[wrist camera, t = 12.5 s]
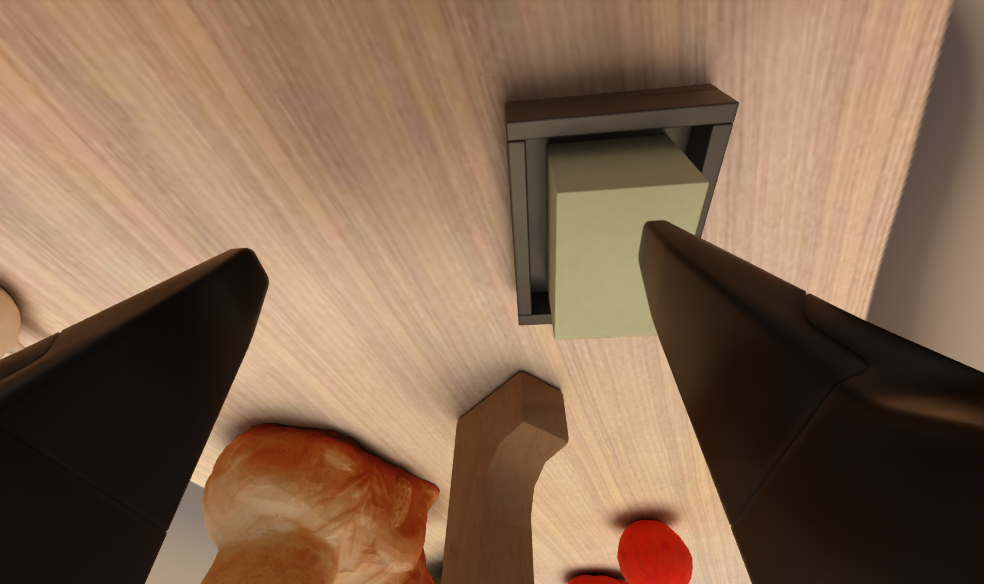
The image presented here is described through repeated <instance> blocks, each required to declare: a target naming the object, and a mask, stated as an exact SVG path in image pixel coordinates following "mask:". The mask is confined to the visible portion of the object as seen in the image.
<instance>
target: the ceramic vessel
mask: <svg viewBox="0 0 984 584" xmlns="http://www.w3.org/2000/svg"><path fill="white" fill-rule="evenodd" d="M439 492H440V490H439V488H438V487H437V486H436V485H435V484H432V483H430V482H427V481H425V480H422V479H420V478H418V477H416V476H414V475H412V474H410V473H408V472H407V471H405V470H404V469H402V468H400V467H398V466H396V465H394V464H392V463H390V462H388V461H386V460H384V459H382V458H381V457H379V456H378V455H376V454H374V453H373V452H371V451H369V450H368V449H366V448H365V447H363V446H361V445H360V444H359V443H358V442H357V441H356V440H355V439H354V438H351V437H348V436H345V435H342V434H340V433H338V432H336V431H334V430H323V429H315V428H307V427H295V426H286V425H279V424H274V423H263V424H260V425H256V426H251V427H250V428H249V429H248V431H247V432H245V433H243V434H241V435H240V436H239V437H237V438H236V439H235V440H234V441H233V442H231V443H230V444H229V445H227V446H226V447H225V449H224V451H223V452H222V453H221V454H220V456H219V457H218V459H217V461H216V463H215V465H214V467H213V471H212V474H211V475H210V476H209V478H208V480H207V482H206V484H205V488H204V491H203V499H202V501H203V517H204V522H205V525H206V530H207V532H208V534H209V536H210V538H211V540H212V541H213V543H214V544H215V545H216V547H217V548H218V549H219V552H218V554H217V556H216V559H215V561H214V563H213V565H212V566H211V568H210V570H209V571H208V573H207V574H206V576H205V578H204V579H203V581H202V583H201V584H435V583H434V581H433V579H432V578H431V576H430V574H429V572H428V570H427V568H426V558H425V553H424V549H423V546H424V542H425V533H426V523H427V512H428V510H429V508H430V507H431V505H432V504H433V503H434V502H436V501H437V500H438V497H439Z"/></svg>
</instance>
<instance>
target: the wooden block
mask: <svg viewBox="0 0 984 584" xmlns="http://www.w3.org/2000/svg"><path fill="white" fill-rule="evenodd" d="M568 439H569V438H568V430H567V422H566V415H565V407H564V400H563V394H562V393H561V392H560V391H559V390H557V389H555V388H553V387H551V386H549V385H547V384H545V383H544V382H542V381H540V380H538V379H536V378H534V377H532V376H530V375H528V374H526V373H523V372H520V373H518V374H517V375H515V376H514V377H513V378H512V379H510V380H509V381H508V382H507V383H505V384H504V385H503V386H501V387H500V388H499V389H498V390H496V391H495V392H494V393H493V394H491V395H490V396H489V397H487V398H486V399H485V400H484V401H482V402H481V403H480V404H478V405H477V406H476V407H475V408H473V409H472V410H471V411H469V412H468V413H467V414H466V415H464V416H463V417H462V418H461V419H459V421H458V422H457V428H456V439H455V449H454V459H453V469H452V479H451V489H450V499H449V509H448V518H447V528H446V538H445V548H444V558H443V568H442V578H441V584H534V573H533V551H532V530H531V511H532V502H533V492H534V486H535V484H536V482H537V480H538V477H539V475H540V473H541V470H542V468H543V466H544V464H545V462H546V461H547V460H549V459H550V458H551V457H552V456H553V455H555V454H556V453H557V452H558V451H559V450H560V449H562V448H563V447H564V446H565V445H566V444H567V443H568Z"/></svg>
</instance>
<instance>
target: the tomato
mask: <svg viewBox="0 0 984 584" xmlns="http://www.w3.org/2000/svg"><path fill="white" fill-rule="evenodd" d="M569 584H629V583H628V582H627V581H624V580H620V579H616V578H611V577H608V576H605V575H598V576H591V575H579V576H576V577H575V578H573V579H572V580H570V581H569Z"/></svg>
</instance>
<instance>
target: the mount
mask: <svg viewBox="0 0 984 584" xmlns="http://www.w3.org/2000/svg"><path fill="white" fill-rule="evenodd" d="M738 105H739V102H738V101H736V100H734V99H733V98H731V97H730V96H728V95H727V94H725V93H724V92H722V91H721V90H719V89H718V88H717V87H715V86H714V85H712V84H707V85H695V86H684V87H673V88H662V89H651V90H640V91H629V92H618V93H606V94H595V95H584V96H573V97H562V98H551V99H540V100H529V101H517V102H506V103H505V127H506V140H507V156H508V171H509V186H510V201H511V216H512V231H513V246H514V261H515V276H516V291H517V305H518V321H519V325H537V324H552V317H551V309H550V301H549V293H548V286H547V276H546V144H555V143H567V142H579V141H592V140H604V139H616V138H629V137H641V136H653V135H666V134H667V135H668V136H669V137H670V138H671V139H672V141H673V142H674V143H675V144H676V145H677V146H678V147H679V149H680V150H681V151H682V152H683V153H684V154H685V155H686V156H687V158H688V159H689V160H690V161H691V162H692V163H693V164H694V165H695V167H696V168H697V169H698V170H699V171H700V172H701V173H702V175H703V176H704V177H705V178H706V179H707V180H708V181H709V185H708V189H707V193H706V196H705V200H704V204H703V207H702V211H701V215H700V218H699V222H698V226H697V229H696V233H695V236H697V237H699V238H701V235H702V231H703V228H704V224H705V221H706V217H707V214H708V210H709V207H710V203H711V200H712V196H713V193H714V189H715V186H716V182H717V179H718V175H719V172H720V168H721V165H722V161H723V158H724V154H725V151H726V147H727V144H728V140H729V137H730V133H731V130H732V126H733V123H732V122H734V119H735V115H736V112H737V108H738Z"/></svg>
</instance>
